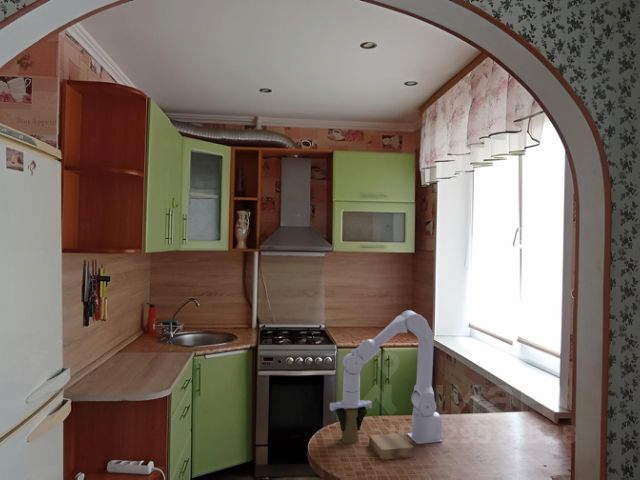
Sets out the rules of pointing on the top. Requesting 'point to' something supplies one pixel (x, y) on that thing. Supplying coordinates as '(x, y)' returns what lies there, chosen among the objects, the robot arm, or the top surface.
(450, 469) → the top surface
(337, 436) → the top surface
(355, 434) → the cork
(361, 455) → the top surface
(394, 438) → the walnut block
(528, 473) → the top surface
